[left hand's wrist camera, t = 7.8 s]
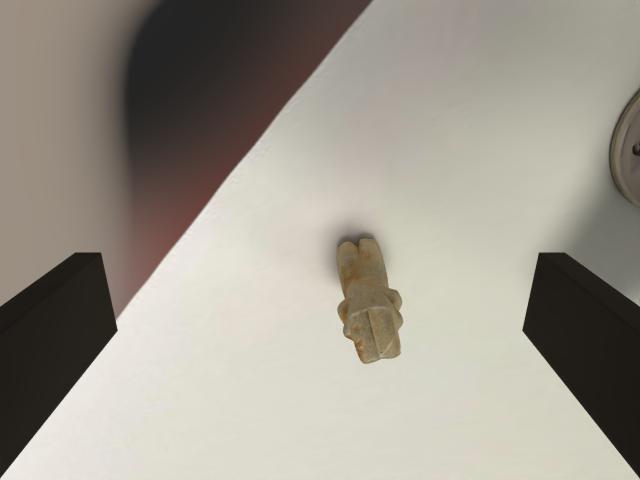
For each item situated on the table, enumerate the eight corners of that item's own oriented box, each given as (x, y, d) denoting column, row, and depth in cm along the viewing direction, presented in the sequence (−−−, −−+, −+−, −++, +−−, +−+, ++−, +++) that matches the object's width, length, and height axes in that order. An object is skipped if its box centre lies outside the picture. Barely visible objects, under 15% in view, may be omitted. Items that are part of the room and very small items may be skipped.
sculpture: (383, 230, 44) (412, 302, 30) (390, 289, 47) (420, 380, 33) (329, 239, 44) (333, 314, 30) (339, 297, 47) (347, 390, 33)
